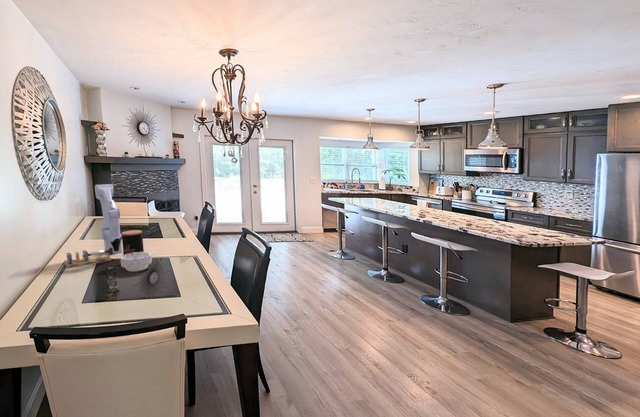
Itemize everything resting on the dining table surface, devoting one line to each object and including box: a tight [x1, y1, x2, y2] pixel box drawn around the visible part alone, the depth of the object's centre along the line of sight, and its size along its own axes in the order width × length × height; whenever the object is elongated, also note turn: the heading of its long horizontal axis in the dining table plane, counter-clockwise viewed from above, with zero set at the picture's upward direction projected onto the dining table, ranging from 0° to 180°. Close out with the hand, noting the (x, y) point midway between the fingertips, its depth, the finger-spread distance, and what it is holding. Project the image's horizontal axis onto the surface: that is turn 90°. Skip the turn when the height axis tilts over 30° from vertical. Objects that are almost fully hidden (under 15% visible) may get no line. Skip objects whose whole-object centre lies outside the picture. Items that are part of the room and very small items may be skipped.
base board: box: [63, 254, 112, 269], centre depth 230 cm, size 22×12×2 cm, turn 130°
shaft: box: [81, 248, 113, 258], centre depth 233 cm, size 16×4×4 cm, turn 130°
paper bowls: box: [119, 251, 153, 273], centre depth 214 cm, size 15×15×8 cm
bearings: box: [66, 250, 89, 264], centre depth 227 cm, size 10×6×5 cm, turn 130°
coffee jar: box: [121, 229, 145, 256], centre depth 227 cm, size 11×11×18 cm
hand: (116, 251), depth 240 cm, fingers closed
